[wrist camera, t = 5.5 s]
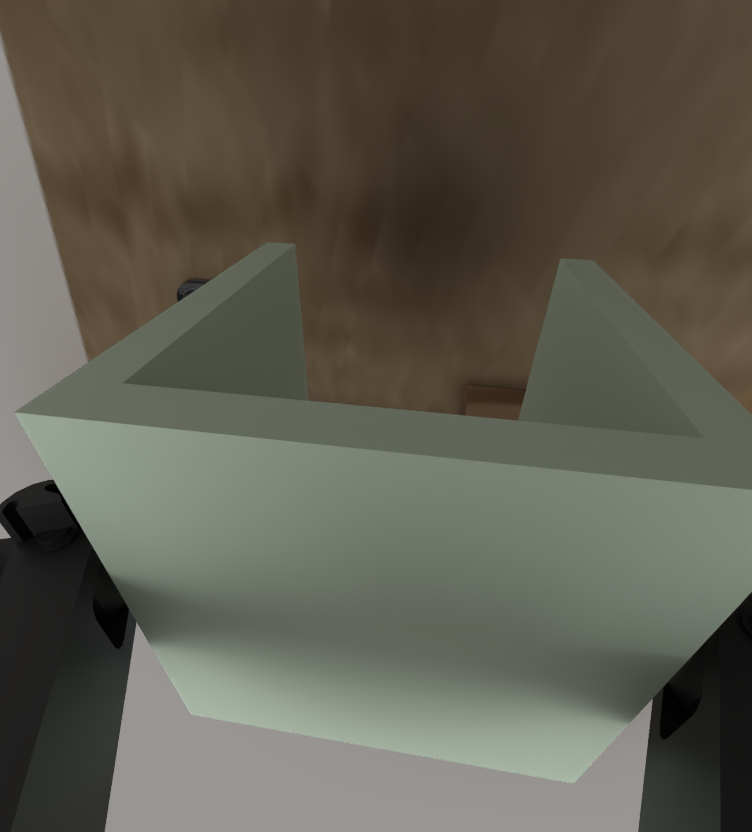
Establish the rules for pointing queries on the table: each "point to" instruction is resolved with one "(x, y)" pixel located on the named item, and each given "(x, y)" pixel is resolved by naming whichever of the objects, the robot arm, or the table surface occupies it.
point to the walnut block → (492, 402)
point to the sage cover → (410, 525)
